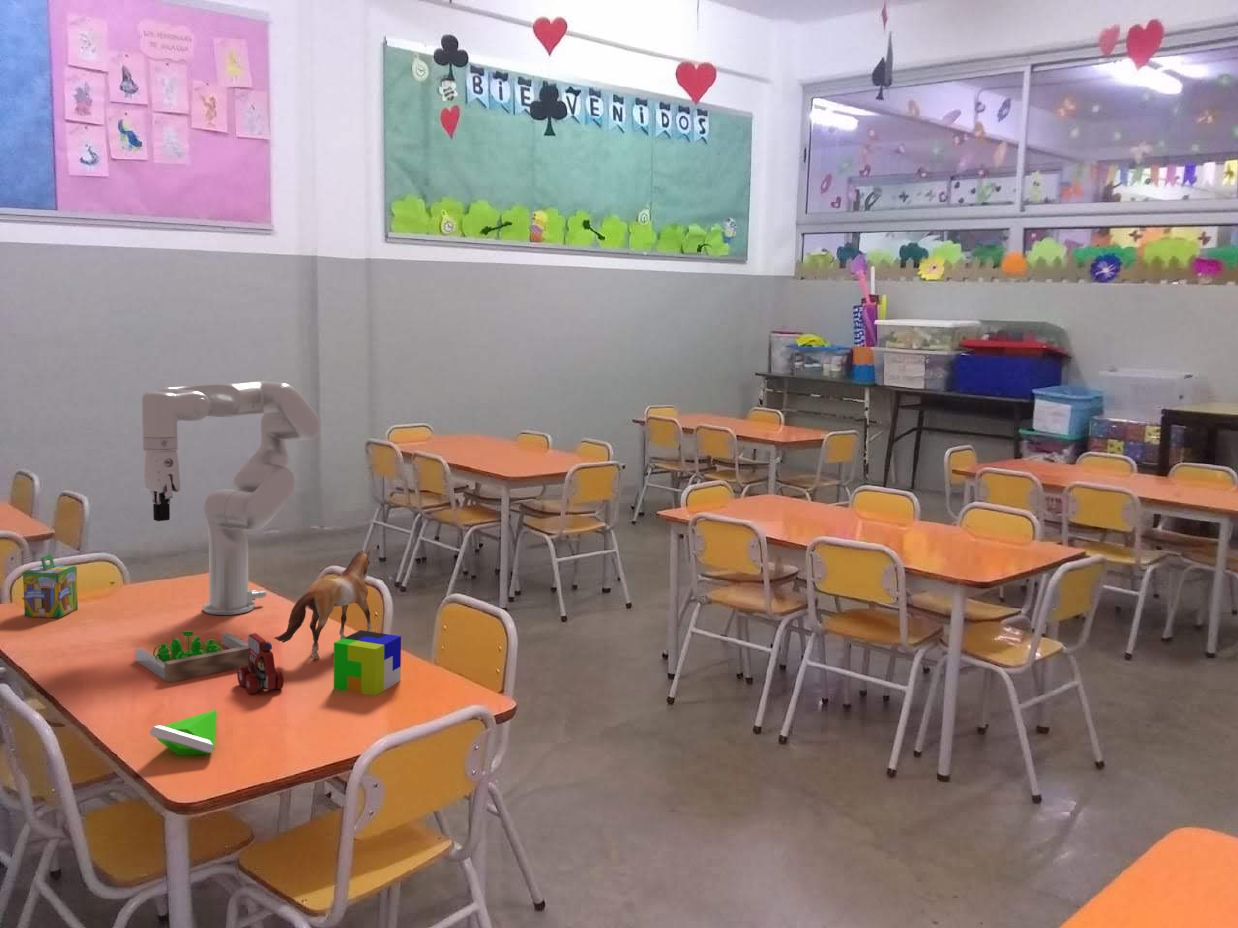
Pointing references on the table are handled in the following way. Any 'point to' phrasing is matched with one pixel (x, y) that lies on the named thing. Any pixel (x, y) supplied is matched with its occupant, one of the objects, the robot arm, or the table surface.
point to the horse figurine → (331, 600)
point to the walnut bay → (198, 661)
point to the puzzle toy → (367, 662)
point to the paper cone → (189, 734)
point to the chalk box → (50, 590)
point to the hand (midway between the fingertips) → (161, 519)
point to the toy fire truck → (259, 667)
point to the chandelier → (195, 648)
